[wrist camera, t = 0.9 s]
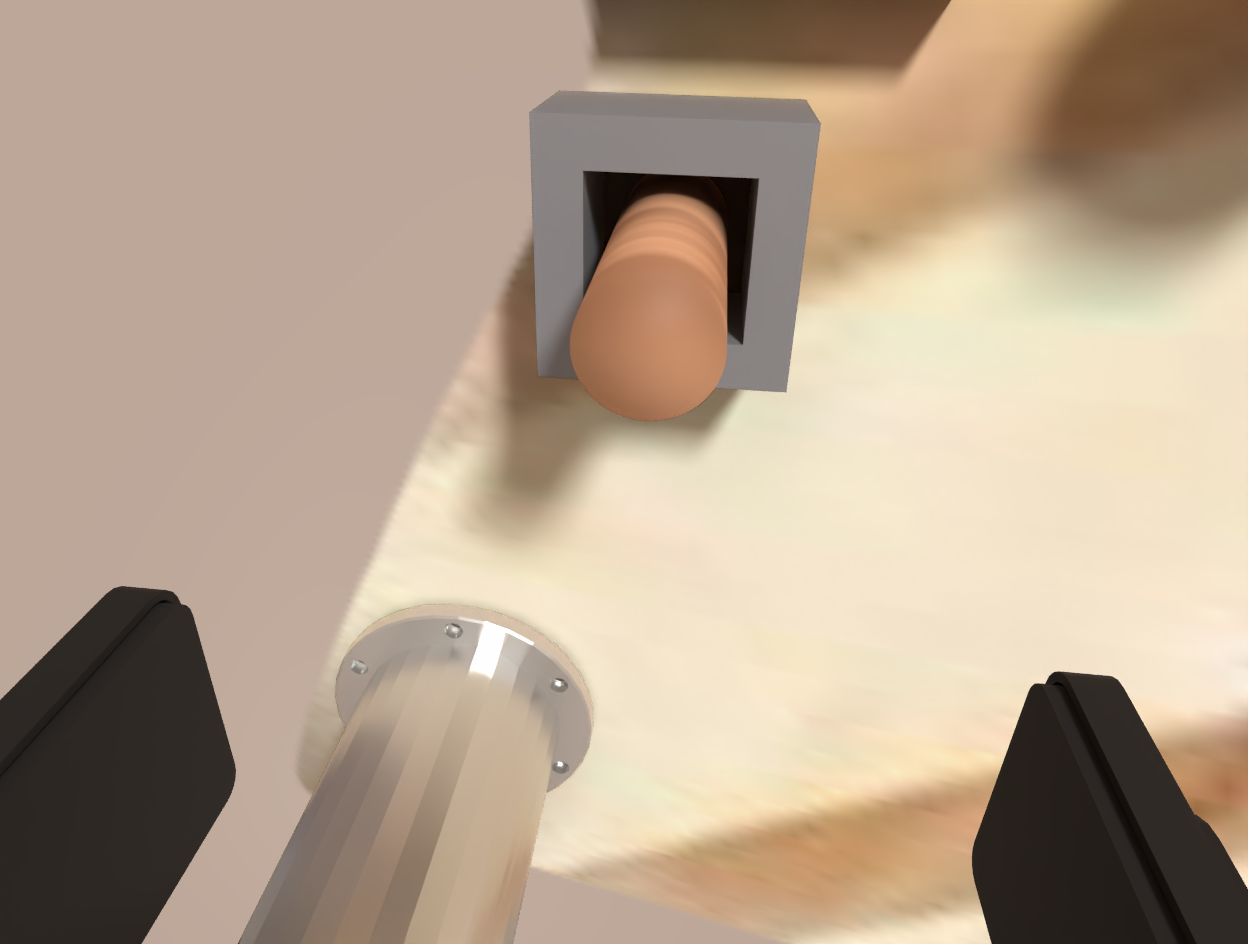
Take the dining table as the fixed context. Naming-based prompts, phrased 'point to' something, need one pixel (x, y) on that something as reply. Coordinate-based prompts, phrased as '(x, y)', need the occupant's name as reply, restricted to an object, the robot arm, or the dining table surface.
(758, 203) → the socket block
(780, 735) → the dining table surface
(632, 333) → the dowel
